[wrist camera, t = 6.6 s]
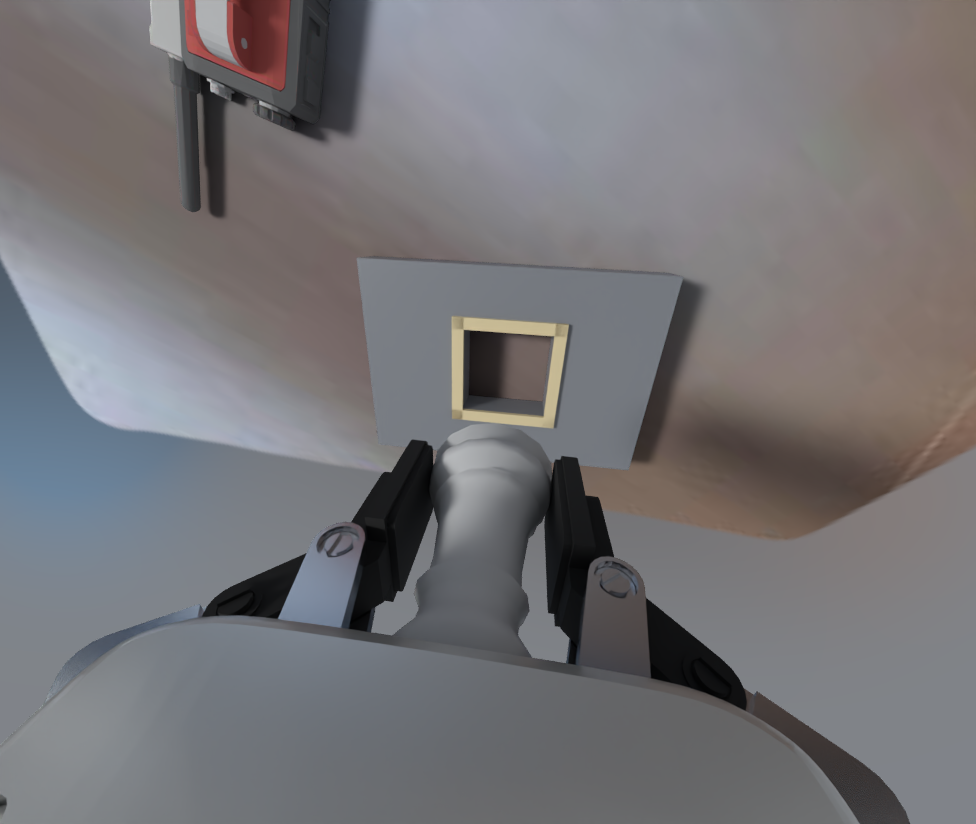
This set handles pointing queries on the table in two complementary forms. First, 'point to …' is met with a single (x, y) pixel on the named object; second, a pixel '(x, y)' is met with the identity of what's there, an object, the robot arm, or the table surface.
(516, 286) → the socket board
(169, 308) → the table surface
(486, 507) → the rook chess piece
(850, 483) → the table surface
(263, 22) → the red gray switch box
